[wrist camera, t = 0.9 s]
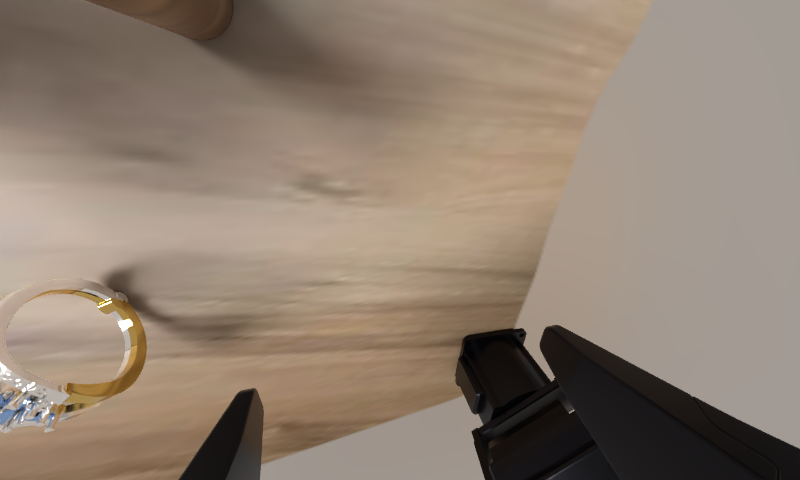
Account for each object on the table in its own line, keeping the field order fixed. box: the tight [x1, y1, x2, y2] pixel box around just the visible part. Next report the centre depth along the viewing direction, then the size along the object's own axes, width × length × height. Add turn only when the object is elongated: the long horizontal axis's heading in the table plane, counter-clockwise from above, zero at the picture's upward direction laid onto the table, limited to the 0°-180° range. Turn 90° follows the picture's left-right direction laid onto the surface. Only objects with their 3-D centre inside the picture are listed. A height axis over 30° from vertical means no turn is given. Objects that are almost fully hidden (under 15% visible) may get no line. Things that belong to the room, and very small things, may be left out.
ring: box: [0, 278, 147, 433], centre depth 15 cm, size 7×3×8 cm, turn 19°
